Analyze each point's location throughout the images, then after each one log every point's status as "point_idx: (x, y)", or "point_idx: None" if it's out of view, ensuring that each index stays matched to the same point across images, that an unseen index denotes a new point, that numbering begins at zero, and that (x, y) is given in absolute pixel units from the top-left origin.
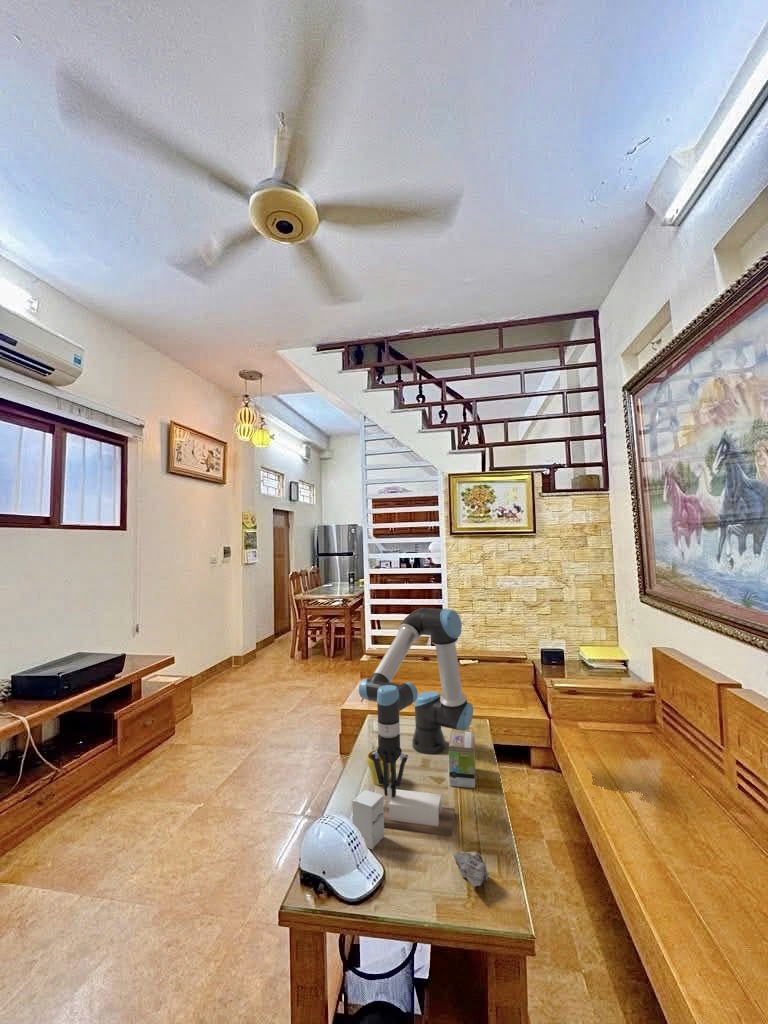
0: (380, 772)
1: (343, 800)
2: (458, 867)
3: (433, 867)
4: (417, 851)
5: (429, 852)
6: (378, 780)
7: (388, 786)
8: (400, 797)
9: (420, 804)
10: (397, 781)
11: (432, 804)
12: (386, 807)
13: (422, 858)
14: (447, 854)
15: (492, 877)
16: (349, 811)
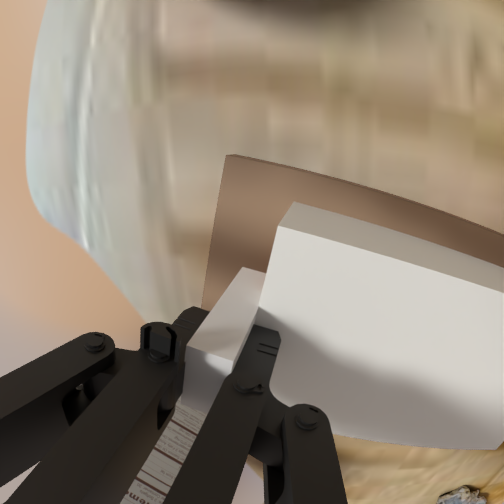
0: (44, 440)
1: (39, 134)
2: (439, 502)
3: (384, 492)
4: (358, 459)
5: (395, 462)
6: (77, 398)
7: (189, 392)
8: (319, 354)
9: (439, 425)
10: (271, 487)
11: (500, 417)
12: (230, 236)
13: (365, 476)
14: (443, 463)
15: (492, 491)
16: (70, 216)
